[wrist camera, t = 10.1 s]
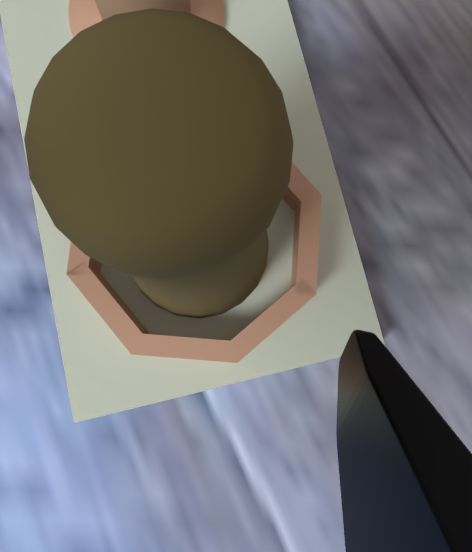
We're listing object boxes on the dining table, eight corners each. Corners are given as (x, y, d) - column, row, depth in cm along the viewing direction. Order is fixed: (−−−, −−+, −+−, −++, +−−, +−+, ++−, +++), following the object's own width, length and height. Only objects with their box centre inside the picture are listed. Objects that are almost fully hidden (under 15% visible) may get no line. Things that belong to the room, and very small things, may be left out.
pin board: (376, 345, 18) (448, 350, 12) (82, 418, 18) (8, 460, 12) (251, -100, 21) (261, -269, 15) (-4, -52, 21) (-98, -208, 15)
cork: (264, 176, 18) (319, -61, 7) (273, 314, 17) (348, 281, 6) (125, 181, 18) (-31, -52, 7) (127, 321, 17) (-49, 299, 6)
